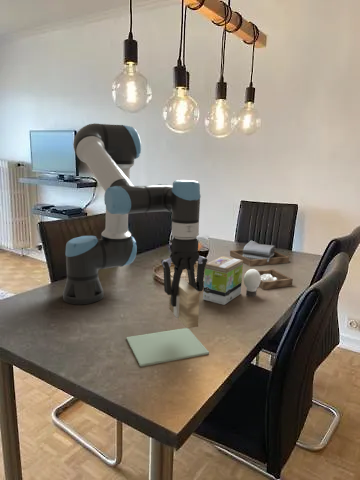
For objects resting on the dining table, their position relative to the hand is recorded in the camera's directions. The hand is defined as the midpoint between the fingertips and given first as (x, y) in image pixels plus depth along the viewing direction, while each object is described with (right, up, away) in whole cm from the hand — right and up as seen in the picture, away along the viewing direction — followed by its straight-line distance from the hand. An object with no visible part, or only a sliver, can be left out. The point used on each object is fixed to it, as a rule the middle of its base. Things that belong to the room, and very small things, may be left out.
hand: (183, 315), depth 109 cm
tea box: (+16, -1, +40) cm, 43 cm away
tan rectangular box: (0, -1, 0) cm, 1 cm away
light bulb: (+28, -1, +42) cm, 51 cm away
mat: (-5, -9, 0) cm, 10 cm away
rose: (+38, +2, +57) cm, 68 cm away
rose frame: (+39, +3, +59) cm, 70 cm away
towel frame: (+42, +11, +96) cm, 105 cm away
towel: (+42, +12, +96) cm, 105 cm away
